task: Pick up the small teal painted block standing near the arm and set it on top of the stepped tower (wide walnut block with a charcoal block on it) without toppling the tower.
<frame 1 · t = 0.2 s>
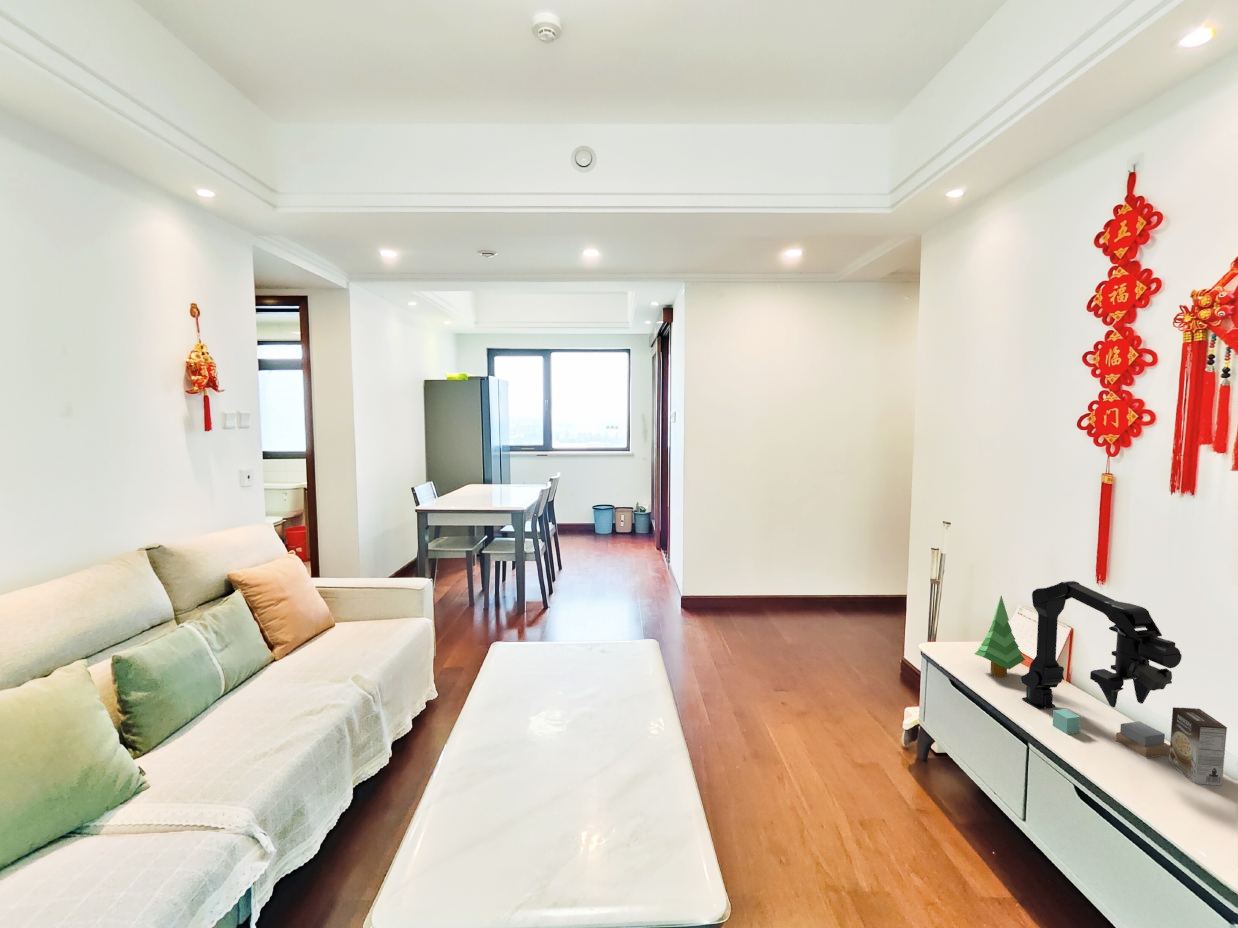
hand: (1126, 704, 154), 14 cm above the tv stand, fingers open, 9 cm apart
walnut base block: (1142, 748, 157), on the tv stand, touching charcoal middle block
charcoal middle block: (1141, 738, 157), point 3 cm above the tv stand, touching walnut base block
decorative tree: (998, 674, 202), on the tv stand
teal block: (1065, 729, 167), on the tv stand
coffee box: (1194, 774, 146), on the tv stand
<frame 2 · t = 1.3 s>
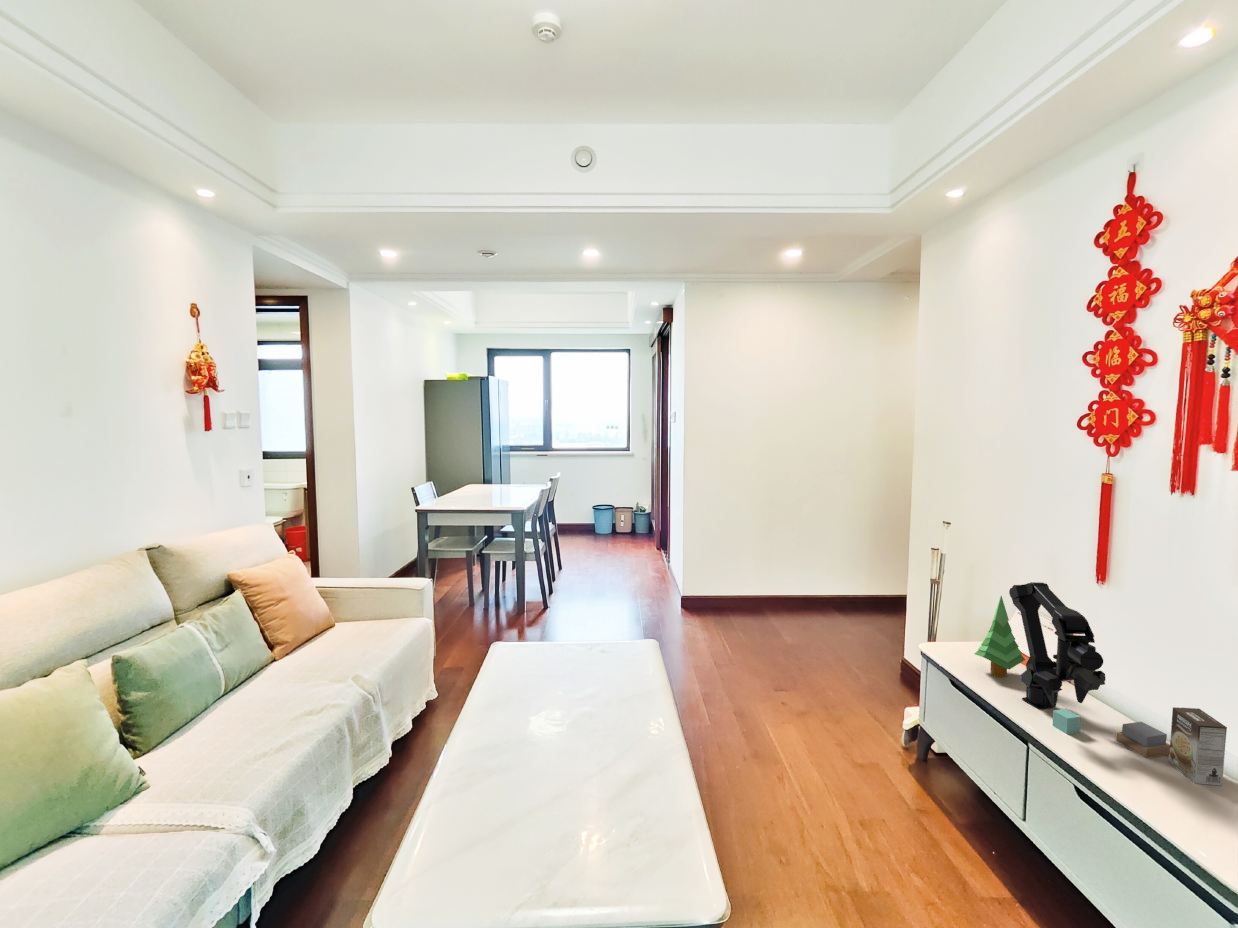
hand: (1066, 704, 167), 8 cm above the tv stand, fingers open, 9 cm apart
nothing on the tv stand moved.
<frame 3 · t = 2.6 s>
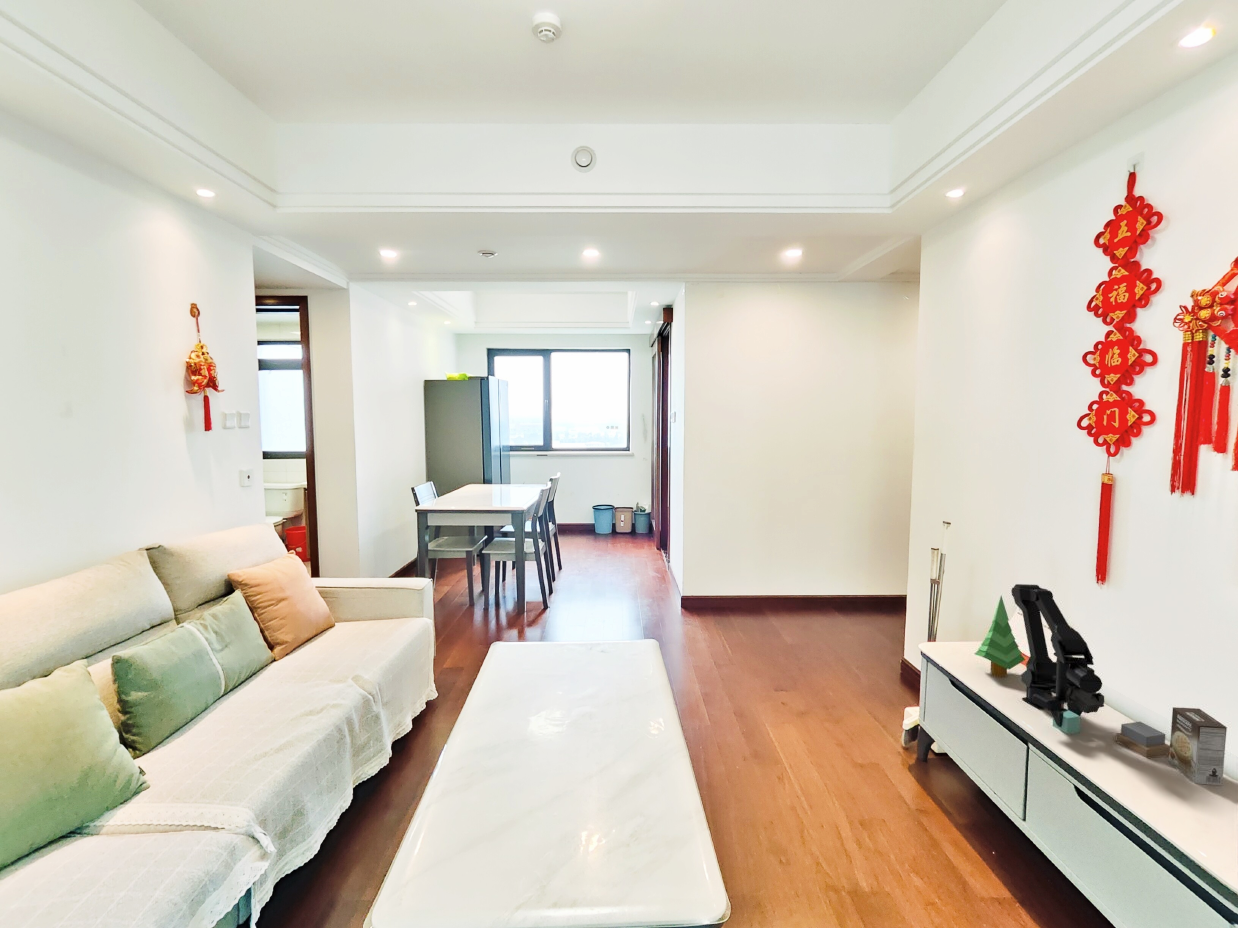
hand: (1066, 725, 167), 1 cm above the tv stand, fingers closed on teal block, 4 cm apart
walnut base block: (1142, 749, 157), on the tv stand
charcoal middle block: (1142, 738, 157), point 2 cm above the tv stand
teal block: (1065, 728, 167), on the tv stand, touching gripper
everything else where it was.
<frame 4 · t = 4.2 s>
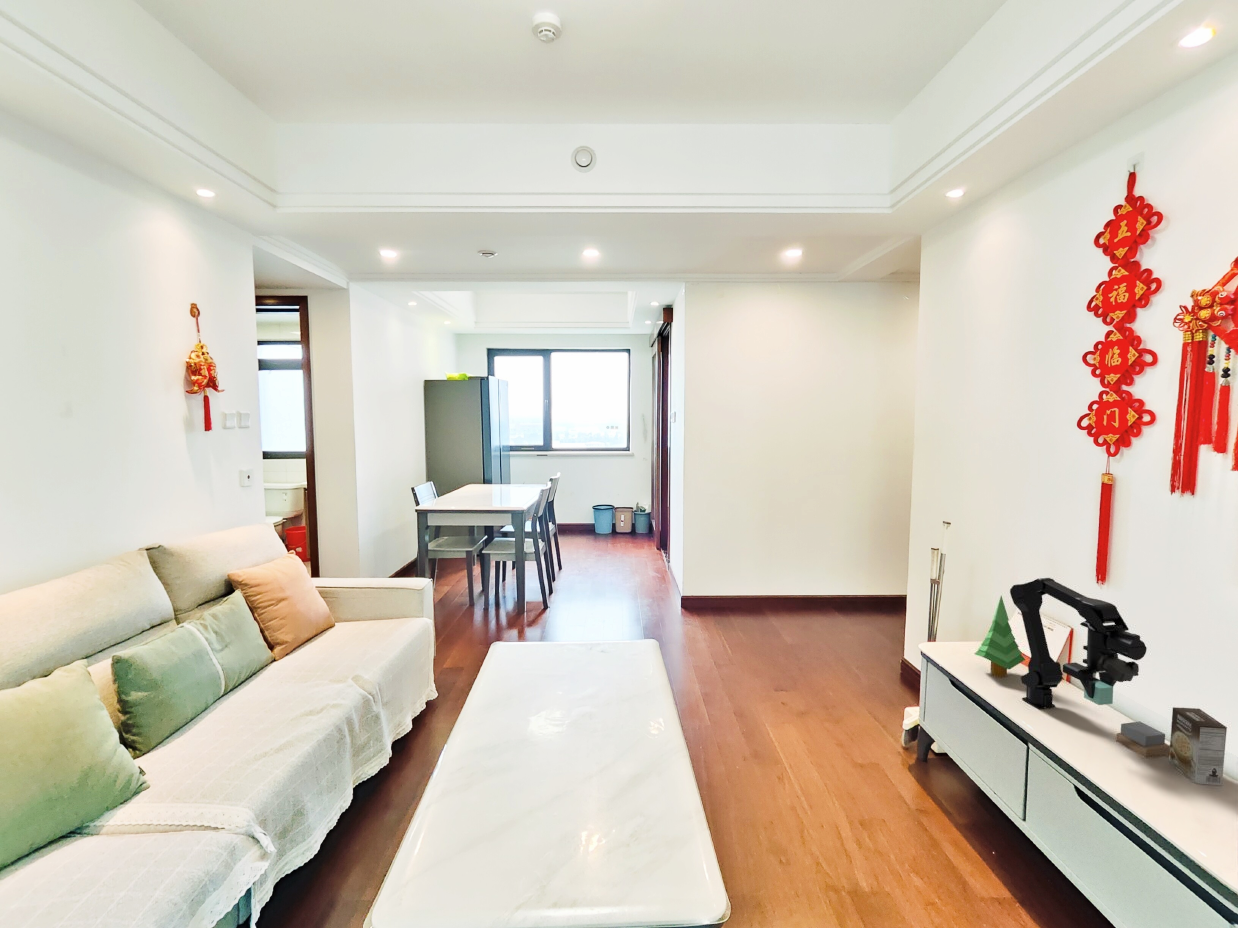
hand: (1098, 696, 162), 12 cm above the tv stand, fingers closed on teal block, 4 cm apart
teal block: (1098, 700, 162), point 11 cm above the tv stand, touching gripper
everything else where it was.
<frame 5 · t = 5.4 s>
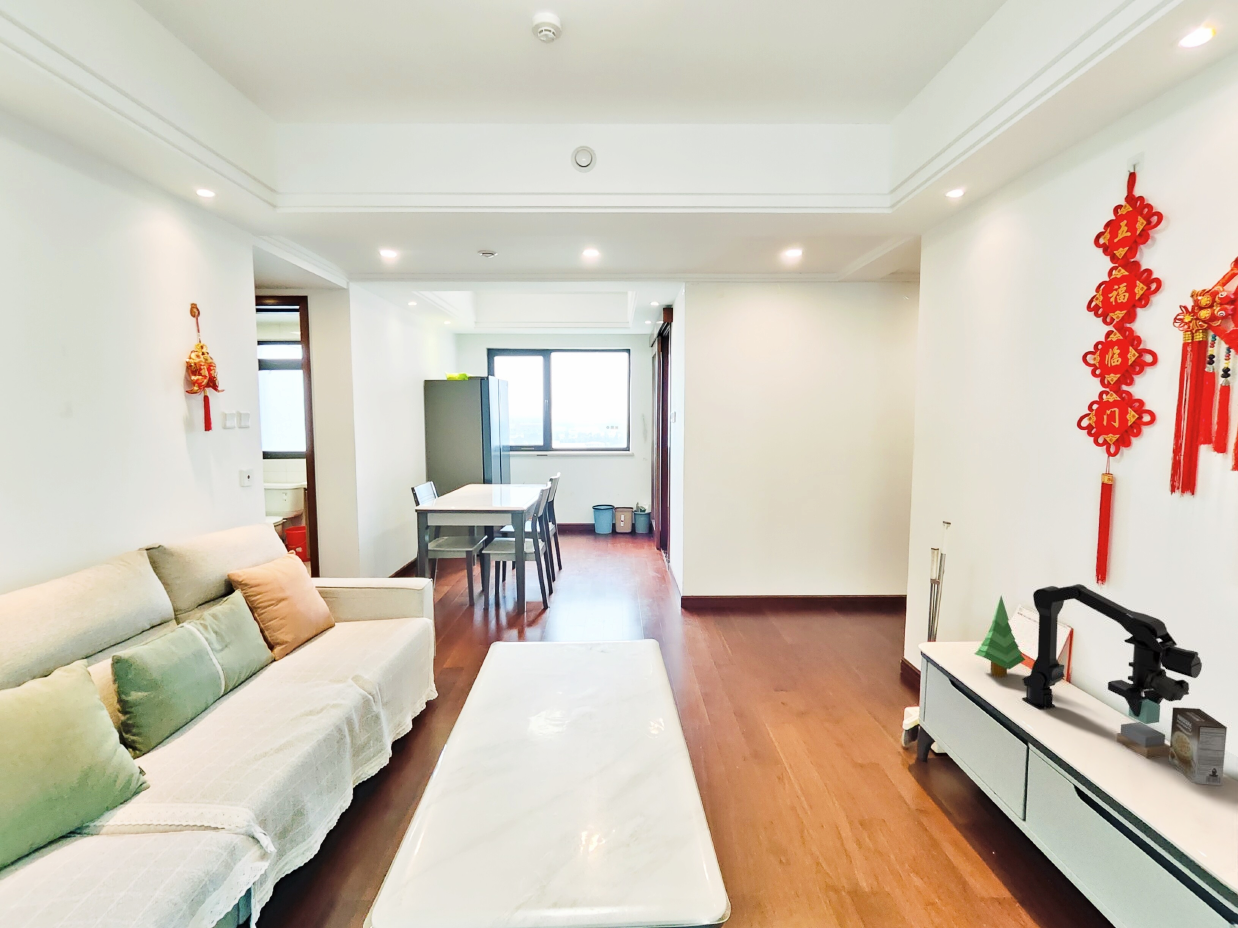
hand: (1143, 715, 157), 10 cm above the tv stand, fingers closed on teal block, 4 cm apart
walnut base block: (1143, 749, 157), on the tv stand, touching charcoal middle block
charcoal middle block: (1142, 739, 157), point 2 cm above the tv stand, touching walnut base block
teal block: (1143, 718, 157), point 9 cm above the tv stand, touching gripper
everything else where it was.
when the fingers open (7 cm above the tv stand, at t = 6.2 s): teal block drops 1 cm, resting on charcoal middle block.
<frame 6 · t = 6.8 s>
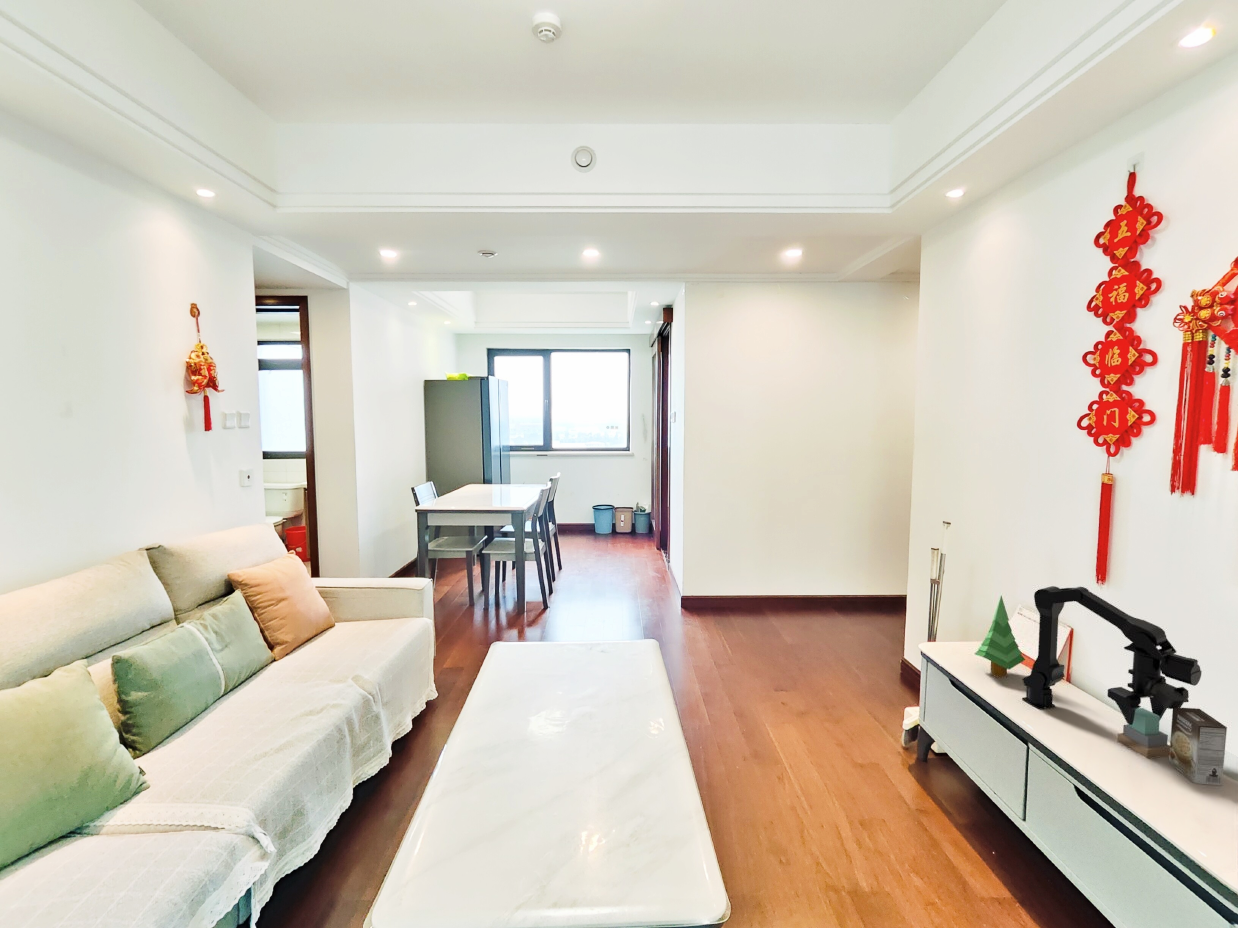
hand: (1143, 722, 157), 7 cm above the tv stand, fingers open, 9 cm apart
charcoal middle block: (1144, 739, 157), point 2 cm above the tv stand, touching teal block, walnut base block
teal block: (1143, 729, 157), point 5 cm above the tv stand, touching charcoal middle block
everything else where it was.
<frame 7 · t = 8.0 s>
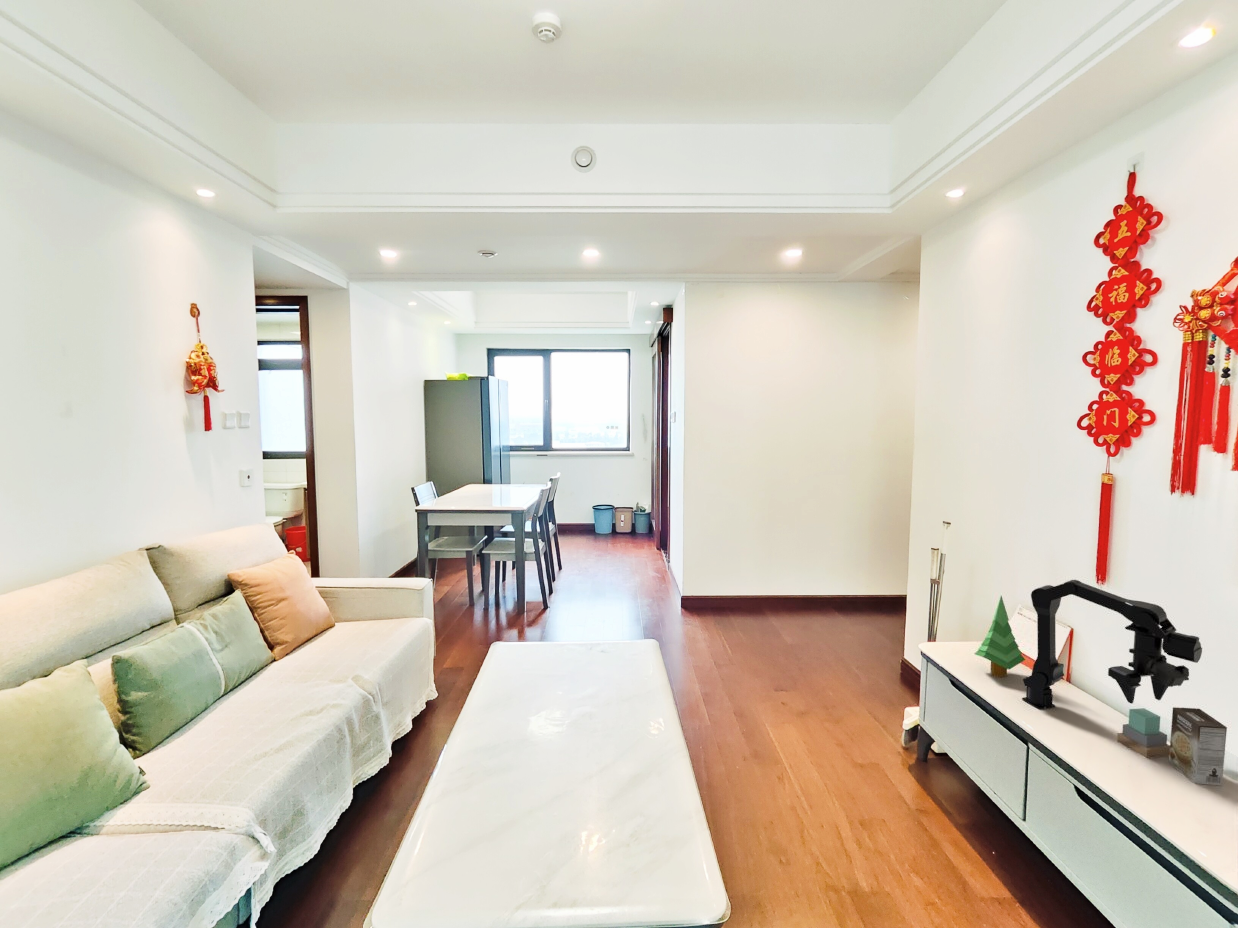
hand: (1144, 701, 158), 13 cm above the tv stand, fingers open, 9 cm apart
nothing on the tv stand moved.
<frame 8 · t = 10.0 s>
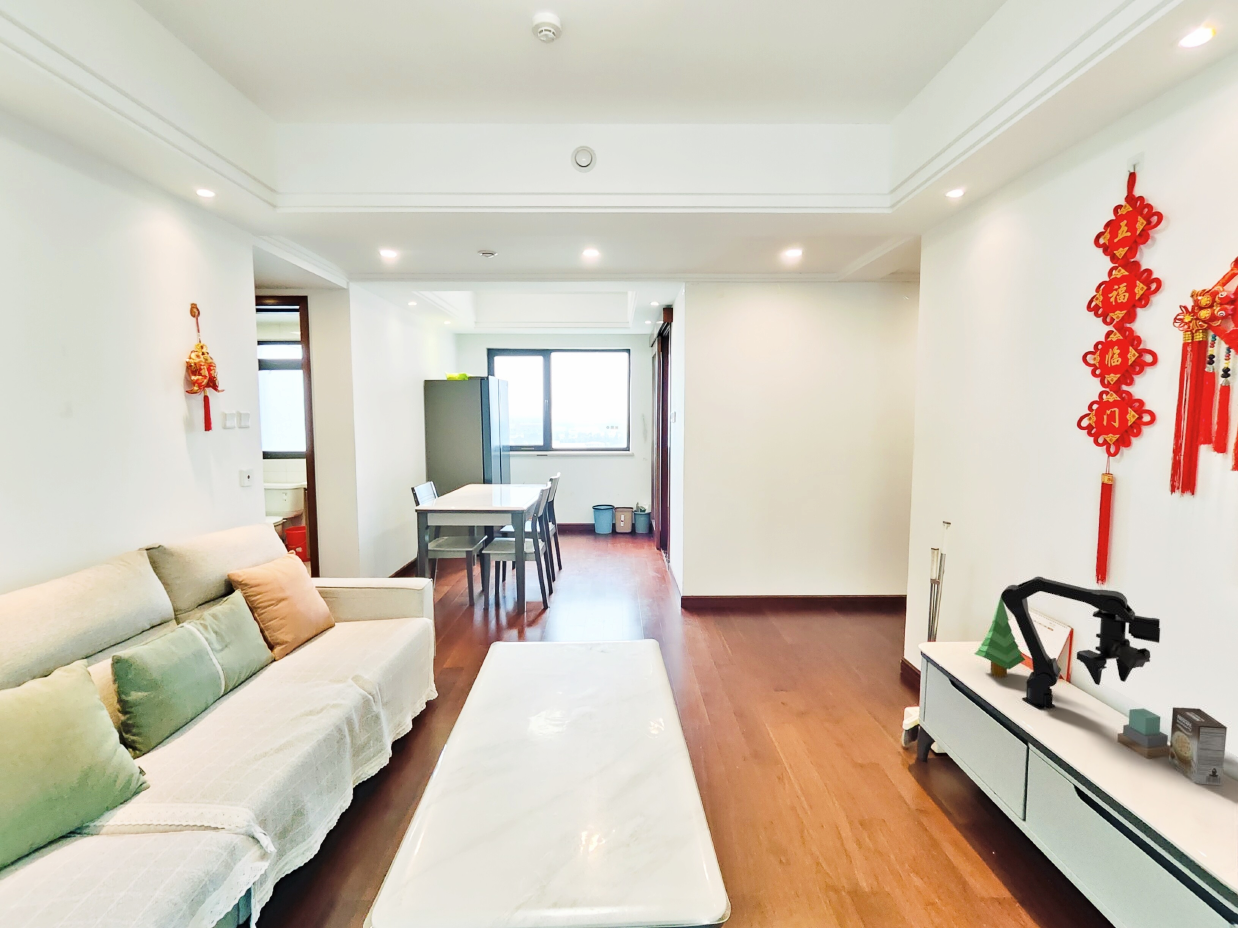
hand: (1110, 682, 168), 13 cm above the tv stand, fingers open, 9 cm apart
nothing on the tv stand moved.
at the end: teal block 0.3 cm off-centre on the walnut base block, point 6.0 cm above the walnut base block's base; charcoal middle block 0.1 cm off-centre on the walnut base block, point 3.0 cm above the walnut base block's base; teal block tilted 1° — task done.
